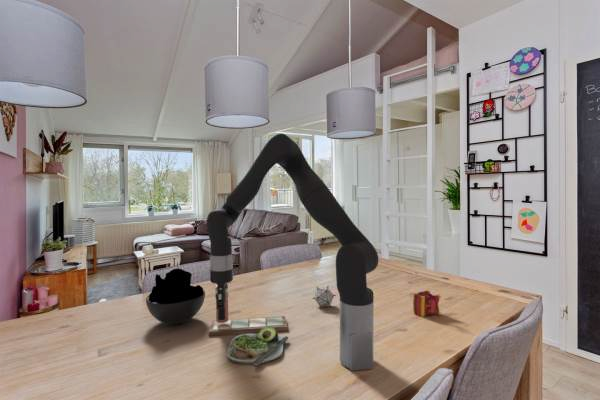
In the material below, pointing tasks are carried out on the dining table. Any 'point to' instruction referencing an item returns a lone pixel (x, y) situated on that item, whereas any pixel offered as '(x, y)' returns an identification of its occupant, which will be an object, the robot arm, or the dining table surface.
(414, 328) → the dining table surface
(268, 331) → the salad plate
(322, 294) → the game die
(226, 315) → the pawn
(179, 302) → the coal bowl
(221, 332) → the board
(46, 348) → the dining table surface
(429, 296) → the book monster
